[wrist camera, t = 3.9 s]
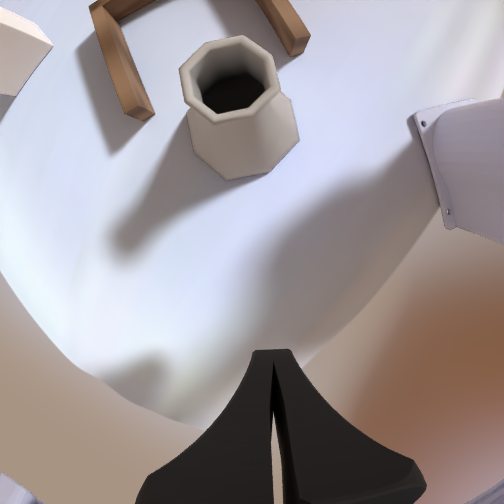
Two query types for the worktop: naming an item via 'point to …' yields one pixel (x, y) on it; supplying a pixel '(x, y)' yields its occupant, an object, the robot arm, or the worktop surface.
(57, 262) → the worktop surface
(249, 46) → the flask
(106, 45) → the box
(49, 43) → the milk
